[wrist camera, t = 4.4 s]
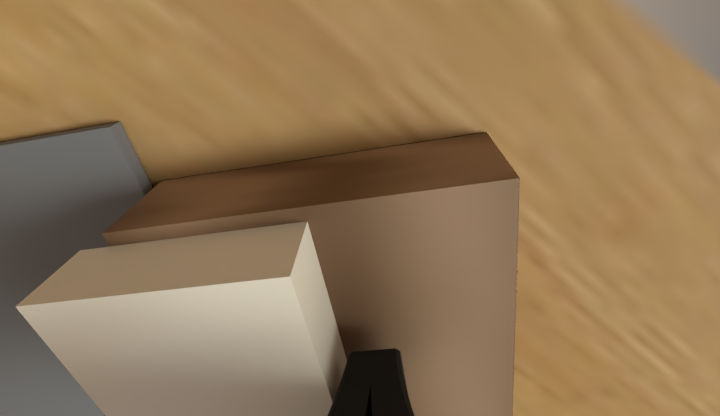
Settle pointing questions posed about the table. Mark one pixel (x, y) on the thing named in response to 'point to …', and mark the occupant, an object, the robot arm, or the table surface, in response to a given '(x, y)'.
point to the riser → (385, 253)
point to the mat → (54, 247)
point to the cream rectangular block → (196, 325)
